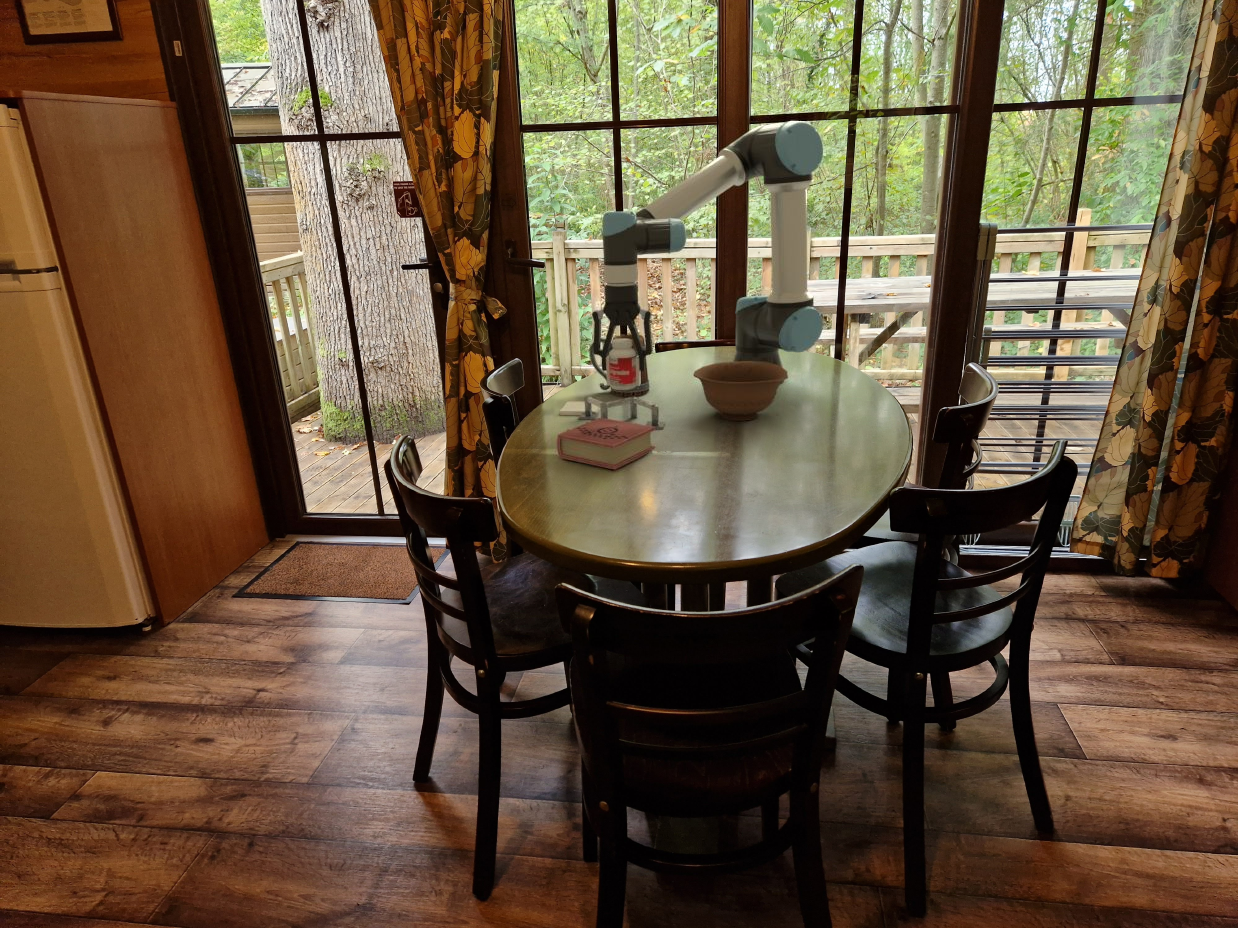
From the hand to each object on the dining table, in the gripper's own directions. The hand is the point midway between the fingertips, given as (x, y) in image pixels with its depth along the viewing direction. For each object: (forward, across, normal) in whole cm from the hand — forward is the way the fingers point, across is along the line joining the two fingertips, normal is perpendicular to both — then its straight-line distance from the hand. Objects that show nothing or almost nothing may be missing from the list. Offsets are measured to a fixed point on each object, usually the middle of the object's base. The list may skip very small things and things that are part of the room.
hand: (624, 384), depth 184 cm
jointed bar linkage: (+9, 0, +1) cm, 9 cm away
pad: (+9, +12, -8) cm, 17 cm away
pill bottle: (+1, 0, +1) cm, 1 cm away
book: (+9, 0, +24) cm, 25 cm away
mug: (+9, +5, -26) cm, 28 cm away
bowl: (+9, -27, -5) cm, 29 cm away
